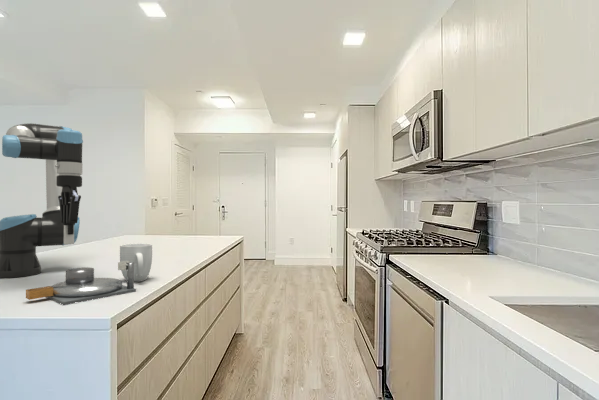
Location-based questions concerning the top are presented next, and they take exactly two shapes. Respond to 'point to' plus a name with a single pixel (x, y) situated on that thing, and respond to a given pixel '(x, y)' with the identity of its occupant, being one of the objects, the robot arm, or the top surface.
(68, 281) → the dark grey bowl
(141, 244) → the mug
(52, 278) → the top surface
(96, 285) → the turntable
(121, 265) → the post
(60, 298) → the base plate
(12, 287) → the top surface
